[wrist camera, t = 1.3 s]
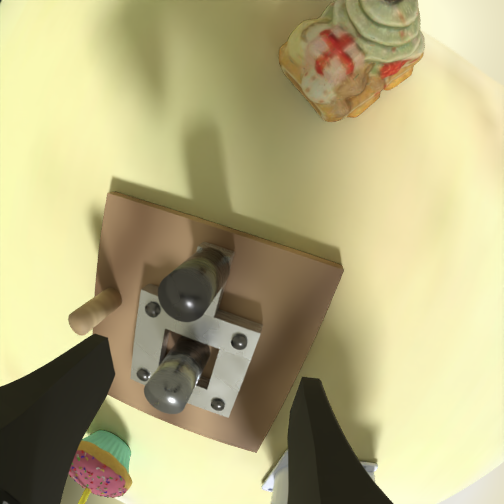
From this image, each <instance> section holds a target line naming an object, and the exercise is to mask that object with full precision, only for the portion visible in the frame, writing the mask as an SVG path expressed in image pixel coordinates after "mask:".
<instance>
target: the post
mask: <svg viewBox="0 0 504 504" xmlns="http://www.w3.org/2000/svg"><path fill="white" fill-rule="evenodd" d="M210 354H211V352H210V348H209V346H208V345H207V344H204V343H201V342H199V341H196V340H193V339H191V338H188V337H186V336H181V337H180V338H179V339H178V340H177V342H176V343H175V344H174V346H173V347H172V349H171V350H170V351H169V353H168V354H167V356H166V357H165V358H164V360H163V361H162V363H161V364H160V365H159V367H158V368H157V370H156V371H155V372H154V374H153V375H152V377H151V378H150V379H149V381H148V382H147V384H146V385H145V387H144V395H145V397H146V399H147V401H148V402H149V403H150V404H151V405H152V406H153V407H154V408H156V409H157V410H159V411H161V412H164V413H167V414H178V413H180V412H182V411H183V410H184V408H185V406H186V404H187V402H188V400H189V398H190V396H191V394H192V392H193V390H194V388H195V386H196V384H197V382H198V380H199V378H200V376H201V374H202V372H203V370H204V368H205V366H206V364H207V362H208V360H209V358H210Z"/></svg>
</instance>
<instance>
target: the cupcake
mask: <svg viewBox="0 0 504 504" xmlns="http://www.w3.org/2000/svg"><path fill="white" fill-rule="evenodd" d="M130 456H131V452H130V449H129V447H128V446H127V445H126V443H125V442H124V441H122V440H121V439H120V438H119V437H117V436H116V435H114V434H112V433H110V432H107V431H104V430H99V431H96V432H95V433H93V434H92V435H90V436H88V437H86V438H84V439H82V440H81V442H80V444H79V446H78V449H77V451H76V454H75V456H74V459H73V462H72V464H71V467H70V470H69V473H68V474H70V477H72V478H73V479H74V480H75V481H76V482H78V483H79V485H81V486H82V487H84V488H85V490H84V492H83V494H82V496H81V498H80V500H79V502H78V504H85V502H86V500H87V498H88V496H89V494H90V492H91V493H93V494H97V495H100V496H105V497H112V498H115V497H120V496H123V494H124V493H125V492H126V491H127V490H128V489H129V488H130V486H131V485H132V480H131V477H130V475H129V461H130Z"/></svg>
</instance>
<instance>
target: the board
mask: <svg viewBox="0 0 504 504" xmlns="http://www.w3.org/2000/svg"><path fill="white" fill-rule="evenodd" d="M203 242H207V243H210V244H213V245H216V246H219V247H222V248H225V249H228V250H231V251H234V252H235V254H234V257H233V261H232V264H231V268H230V274H229V277H228V279H227V282H226V285H225V289H224V292H223V296H222V299H221V303H220V306H219V309H220V310H222V311H225V312H228V313H231V314H234V315H237V316H240V317H243V318H246V319H248V320H251V321H254V322H257V323H260V324H263V327H262V331H261V334H260V337H259V339H258V342H257V345H256V348H255V350H254V353H253V356H252V358H251V361H250V363H249V366H248V369H247V371H246V374H245V377H244V379H243V382H242V384H241V387H240V390H239V392H238V395H237V397H236V400H235V402H234V405H233V408H232V410H231V413H230V415H229V418H228V417H225V416H222V415H219V414H216V413H213V412H210V411H207V410H205V409H202V408H199V407H196V406H194V405H191V404H189V403H187V404H186V406H185V408H184V410H183V411H182V412H180V413H178V414H167V413H164V412H161V411H159V410H157V409H156V408H154V407H153V406H152V405H151V404H150V403H149V402H148V401H147V399H146V397H145V395H144V387H145V385H143V384H141V383H139V382H136V381H134V380H132V379H130V378H131V366H132V356H133V347H134V338H135V330H136V322H137V314H138V307H139V300H140V293H141V289H142V288H144V287H145V286H146V285H147V284H149V283H150V284H153V285H155V286H158V287H159V285H160V283H161V281H162V280H163V279H164V278H165V277H166V276H167V275H169V274H170V273H171V272H172V271H173V270H175V269H176V268H177V267H178V266H179V265H181V264H182V263H183V262H184V261H186V260H187V259H188V258H189V257H190V256H192V255H193V254H194V253H195V252H196V251H197V247H198V246H199V245H200V244H201V243H203ZM343 271H344V269H343V266H342V265H340V264H337V263H334V262H331V261H329V260H326V259H323V258H320V257H317V256H314V255H311V254H308V253H305V252H302V251H299V250H296V249H293V248H290V247H287V246H284V245H281V244H278V243H275V242H272V241H269V240H266V239H263V238H259V237H256V236H253V235H250V234H247V233H244V232H241V231H238V230H235V229H232V228H229V227H226V226H223V225H220V224H216V223H213V222H210V221H207V220H204V219H201V218H198V217H195V216H192V215H188V214H185V213H182V212H179V211H176V210H173V209H170V208H166V207H163V206H160V205H157V204H154V203H150V202H147V201H144V200H141V199H138V198H134V197H131V196H128V195H125V194H122V193H118V192H110V193H107V199H106V205H105V211H104V217H103V223H102V230H101V238H100V245H99V254H98V263H97V273H96V284H95V296H97V295H98V294H100V293H101V292H103V291H104V290H106V289H107V288H110V287H111V288H115V289H116V290H117V291H118V292H119V293H120V295H121V297H122V304H121V305H120V306H119V307H118V308H117V309H116V310H115V311H113V312H112V313H111V314H110V315H108V316H107V317H106V318H105V319H103V320H102V321H101V322H100V323H99V324H97V325H96V326H95V327H94V328H93V334H98V335H101V336H105V337H108V341H109V346H110V351H111V356H112V361H113V365H114V370H115V374H116V375H115V377H114V379H113V382H112V385H111V387H110V389H109V392H108V395H110V396H111V397H113V398H115V399H117V400H119V401H121V402H123V403H126V404H128V405H130V406H132V407H134V408H136V409H138V410H140V411H143V412H145V413H147V414H149V415H152V416H154V417H156V418H158V419H161V420H163V421H166V422H168V423H170V424H173V425H175V426H178V427H180V428H183V429H186V430H188V431H191V432H194V433H196V434H199V435H202V436H205V437H207V438H210V439H213V440H216V441H219V442H222V443H225V444H229V445H232V446H235V447H238V448H242V449H245V450H248V451H252V452H256V453H257V451H258V449H259V447H260V446H261V444H262V442H263V440H264V438H265V437H266V435H267V433H268V431H269V429H270V428H271V426H272V424H273V422H274V420H275V418H276V416H277V414H278V413H279V411H280V409H281V407H282V405H283V403H284V401H285V399H286V397H287V395H288V393H289V391H290V389H291V387H292V385H293V383H294V381H295V379H296V377H297V375H298V373H299V371H300V369H301V367H302V365H303V363H304V361H305V359H306V356H307V354H308V352H309V350H310V348H311V346H312V344H313V341H314V339H315V337H316V335H317V333H318V330H319V328H320V326H321V324H322V321H323V319H324V317H325V315H326V312H327V310H328V308H329V305H330V303H331V301H332V298H333V296H334V293H335V291H336V289H337V286H338V284H339V281H340V279H341V276H342V274H343ZM181 336H183V335H180V334H178V333H175V332H173V331H170V332H169V337H168V342H167V348H166V353H165V357H166V356H167V354H168V353H169V351H170V350H171V349H172V347H173V346H174V344H175V343H176V342H177V340H178V339H179V338H180V337H181ZM208 346H209V348H210V352H211V354H210V358H209V360H208V362H207V364H206V366H205V368H204V370H203V372H202V374H201V376H202V377H205V378H208V379H211V376H212V372H213V369H214V366H215V362H216V359H217V356H218V353H219V349H218V348H215V347H212V346H210V345H208Z"/></svg>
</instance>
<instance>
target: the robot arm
mask: <svg viewBox="0 0 504 504" xmlns="http://www.w3.org/2000/svg"><path fill="white" fill-rule="evenodd" d="M115 375H116V374H115V370H114V365H113V361H112V356H111V351H110V346H109V341H108V337H105V336H101V335H98V334H93V335H91V336H90V337H88V338H87V339H85V340H83V341H82V342H80V343H79V344H77V345H76V346H74V347H73V348H71V349H70V350H68V351H67V352H65V353H64V354H62V355H60V356H59V357H57V358H56V359H54V360H53V361H51V362H49V363H48V364H46V365H44V366H42V367H41V368H39V369H37V370H35V371H34V372H32V373H30V374H28V375H26V376H24V377H22V378H20V379H18V380H16V381H13V382H11V383H9V384H6V385H4V386H1V387H0V504H60V502H61V497H62V493H63V490H64V486H65V483H66V479H67V476H68V473H69V470H70V467H71V464H72V462H73V459H74V456H75V454H76V451H77V449H78V446H79V444H80V442H81V440H82V438H83V436H84V434H85V433H86V431H87V429H88V427H89V426H90V424H91V422H92V420H93V419H94V417H95V415H96V414H97V412H98V410H99V408H100V407H101V405H102V403H103V401H104V400H105V398H106V396H107V394H108V392H109V389H110V387H111V385H112V382H113V379H114V377H115ZM377 468H378V465H377V464H376V463H369V462H361V461H359V460H358V458H357V456H356V455H355V453H354V452H353V450H352V448H351V446H350V445H349V443H348V441H347V439H346V437H345V436H344V434H343V432H342V430H341V428H340V426H339V424H338V421H337V419H336V417H335V415H334V413H333V411H332V408H331V406H330V404H329V401H328V399H327V396H326V394H325V391H324V388H323V385H322V382H321V381H320V379H316V378H307V377H302V379H301V382H300V385H299V388H298V390H297V393H296V396H295V399H294V402H293V405H292V408H291V410H290V418H289V428H288V449H287V450H286V451H285V453H284V454H283V456H282V457H281V459H280V460H279V462H278V463H277V465H276V466H275V468H274V469H273V470H272V472H271V473H270V475H269V476H268V477H267V479H266V480H265V482H264V483H263V484H262V489H263V490H266V491H270V492H272V499H271V504H393V503H392V502H391V500H390V499H389V498H388V497H387V496H386V495H385V494H384V493H383V491H382V490H381V489H380V488H379V487H378V486H377V485H376V483H375V477H374V472H375V471H376V470H377Z"/></svg>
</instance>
